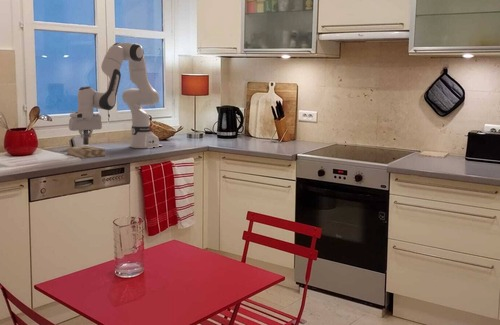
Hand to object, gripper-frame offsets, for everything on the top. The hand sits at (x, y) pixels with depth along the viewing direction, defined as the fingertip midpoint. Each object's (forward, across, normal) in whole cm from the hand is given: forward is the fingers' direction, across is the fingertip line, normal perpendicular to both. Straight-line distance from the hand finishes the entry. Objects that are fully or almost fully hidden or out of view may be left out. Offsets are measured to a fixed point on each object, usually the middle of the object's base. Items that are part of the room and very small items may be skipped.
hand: (85, 137), depth 331 cm
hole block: (+10, 0, 0) cm, 10 cm away
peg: (+4, 0, 0) cm, 4 cm away
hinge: (+11, -10, -23) cm, 27 cm away
